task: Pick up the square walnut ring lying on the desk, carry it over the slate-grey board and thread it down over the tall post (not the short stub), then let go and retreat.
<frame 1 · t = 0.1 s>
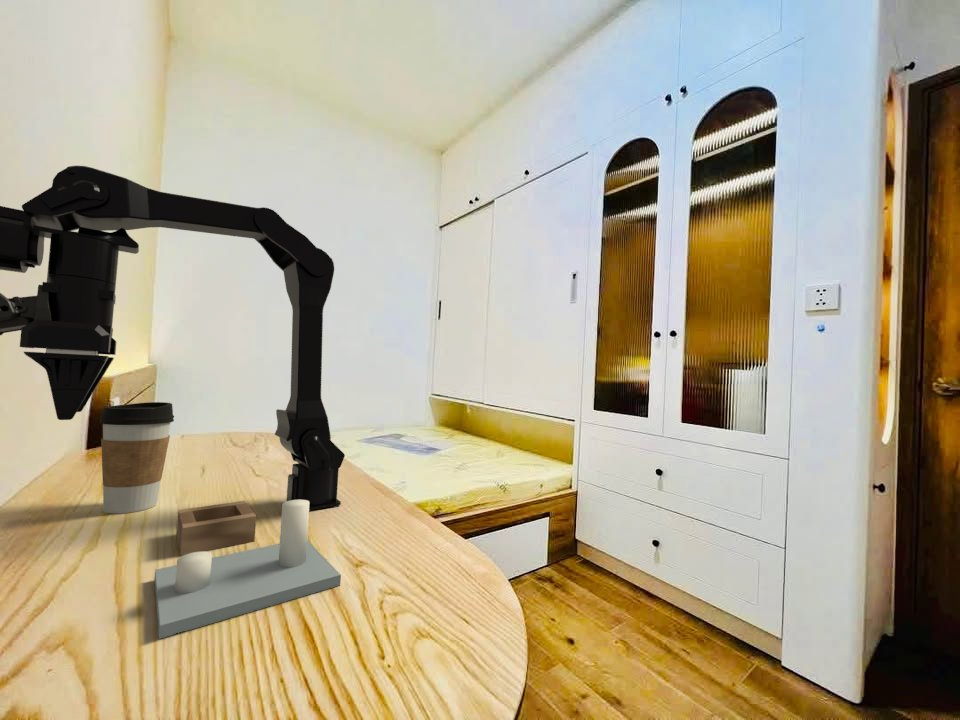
hand: (70, 415, 46), 15 cm above the table, fingers open, 9 cm apart
walnut ring: (215, 537, 49), on the table
post board: (248, 582, 39), on the table
coffee cup: (130, 508, 59), on the table
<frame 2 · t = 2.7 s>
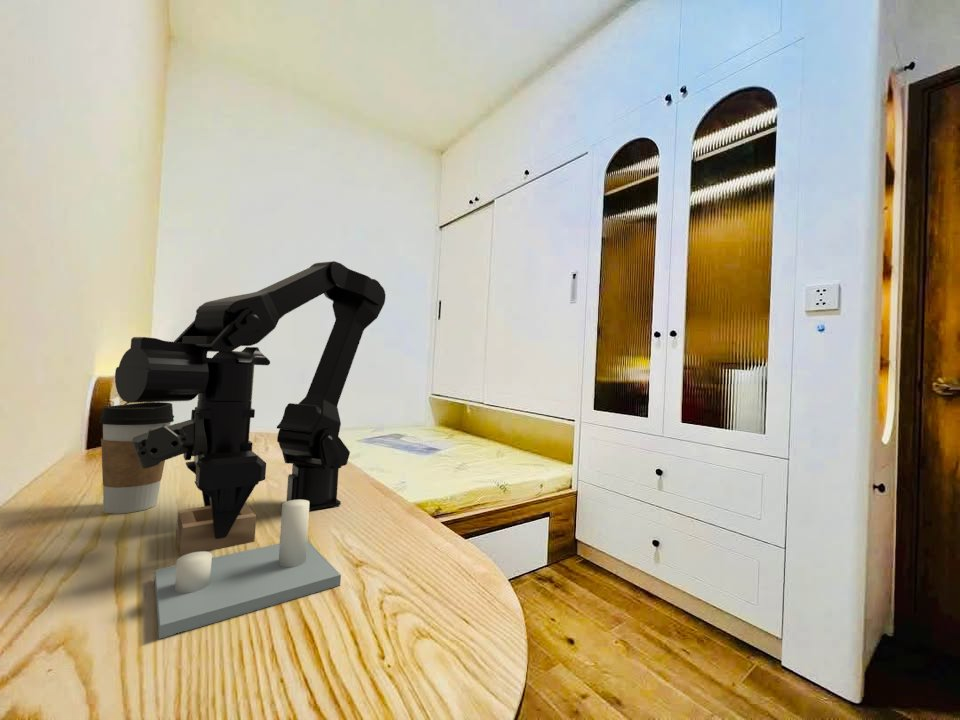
hand: (215, 527, 50), 1 cm above the table, fingers closed on walnut ring, 7 cm apart
walnut ring: (215, 537, 49), on the table, touching gripper
everything else where it was.
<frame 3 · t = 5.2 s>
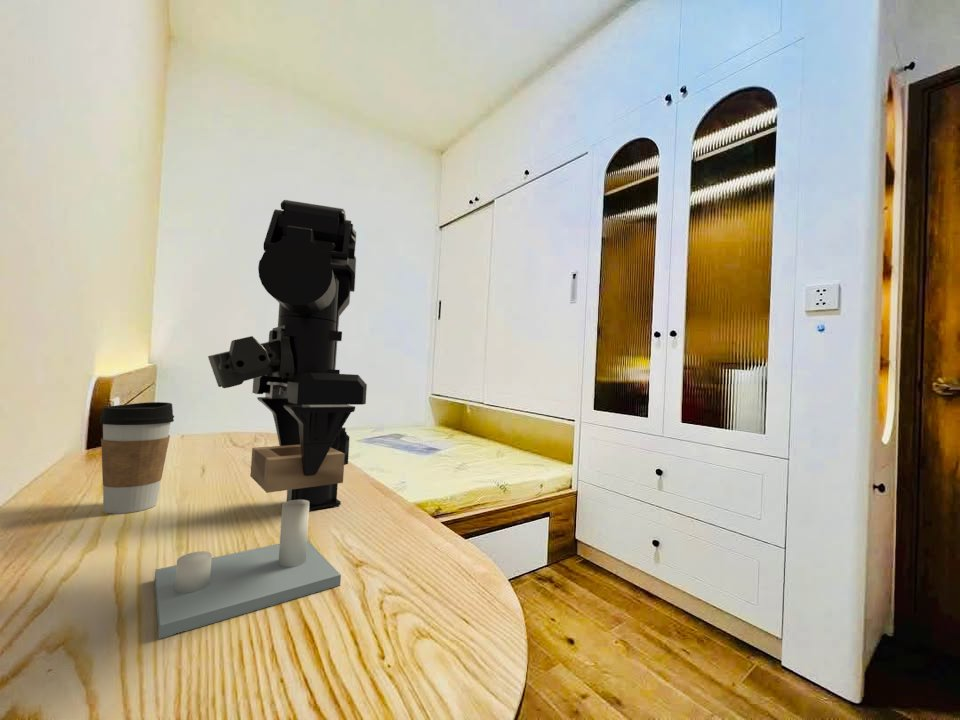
hand: (298, 467, 43), 11 cm above the table, fingers closed on walnut ring, 7 cm apart
walnut ring: (296, 479, 42), point 9 cm above the table, touching gripper
everything else where it was.
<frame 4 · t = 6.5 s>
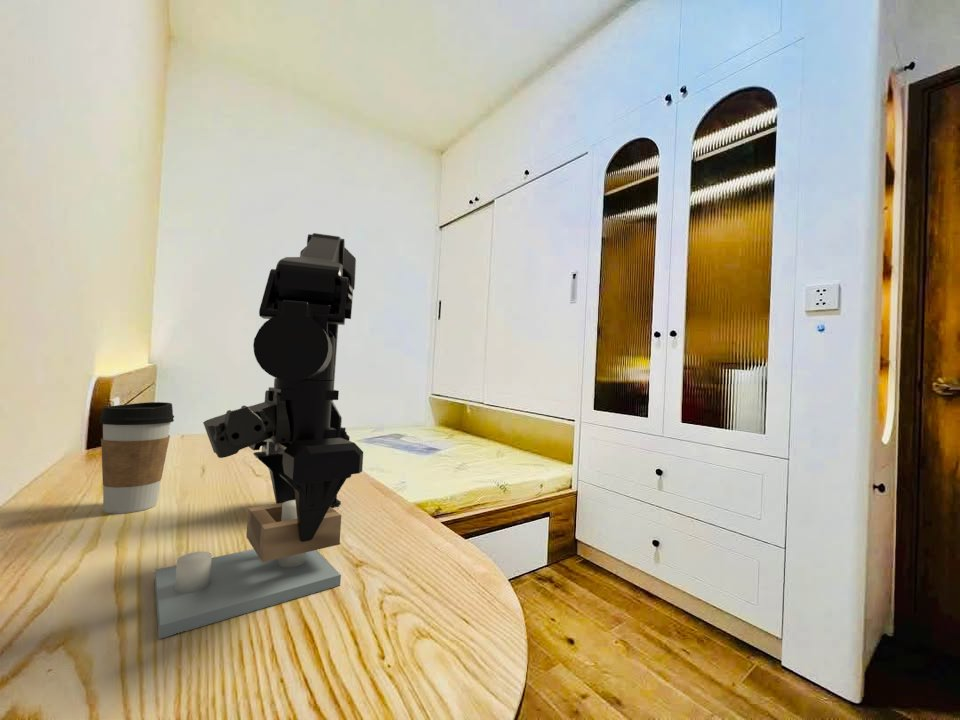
hand: (294, 528, 42), 4 cm above the table, fingers closed on walnut ring, 7 cm apart
walnut ring: (292, 540, 42), point 3 cm above the table, touching gripper
everything else where it was.
when the fingers open (4 cm above the table, at t = 7.6 s): walnut ring drops 2 cm, resting on post board.
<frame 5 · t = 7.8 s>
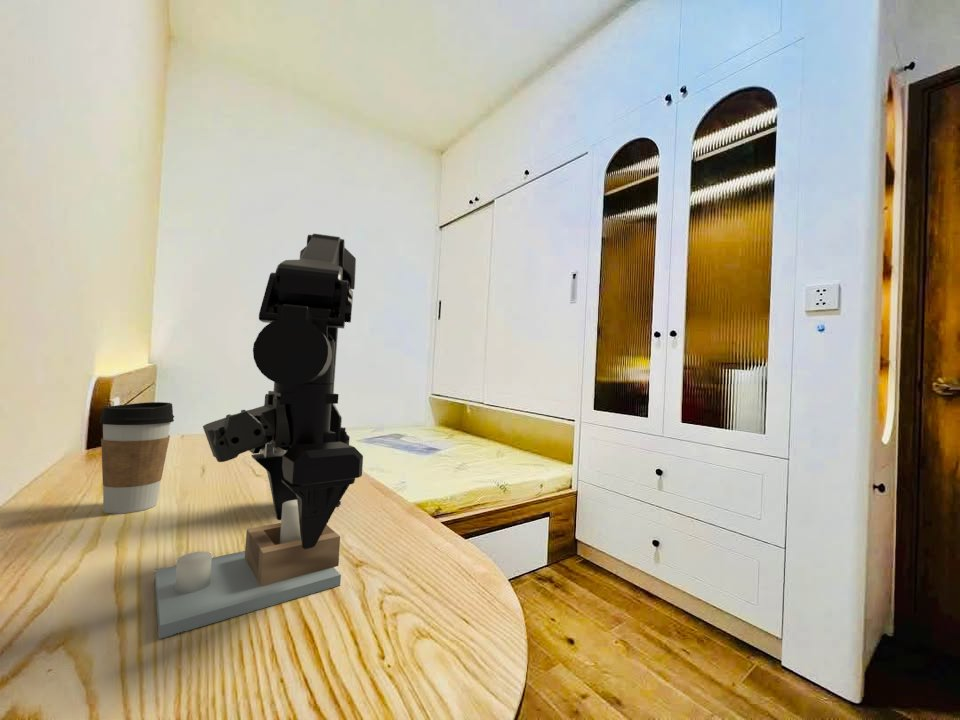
hand: (294, 532, 42), 4 cm above the table, fingers open, 9 cm apart
walnut ring: (291, 561, 42), point 1 cm above the table, touching post board
everything else where it was.
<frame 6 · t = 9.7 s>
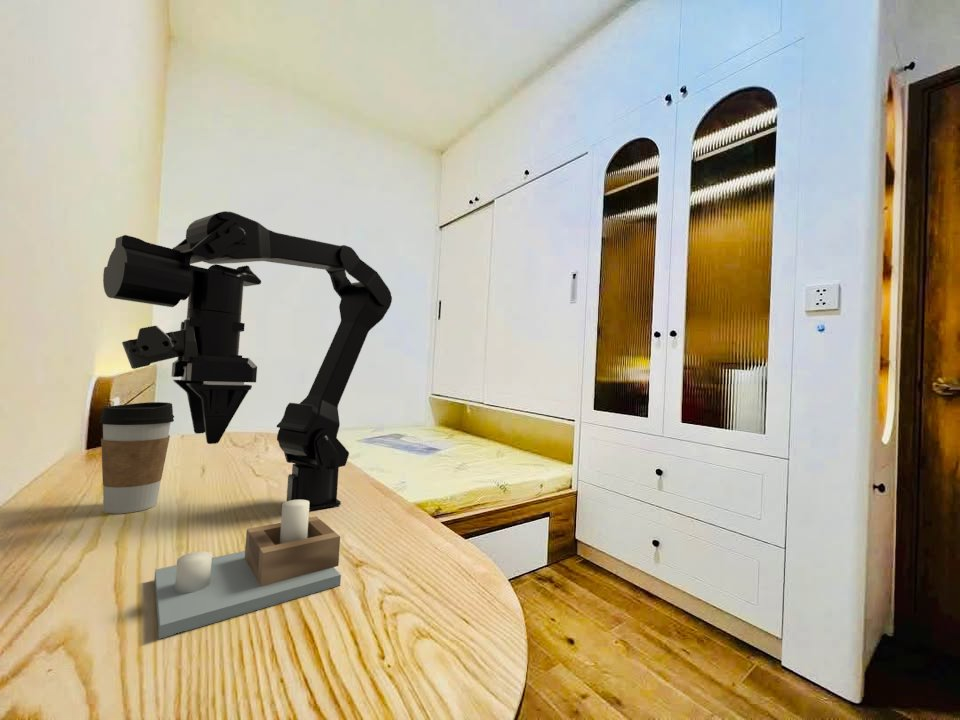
hand: (205, 438, 50), 12 cm above the table, fingers open, 9 cm apart
nothing on the table moved.
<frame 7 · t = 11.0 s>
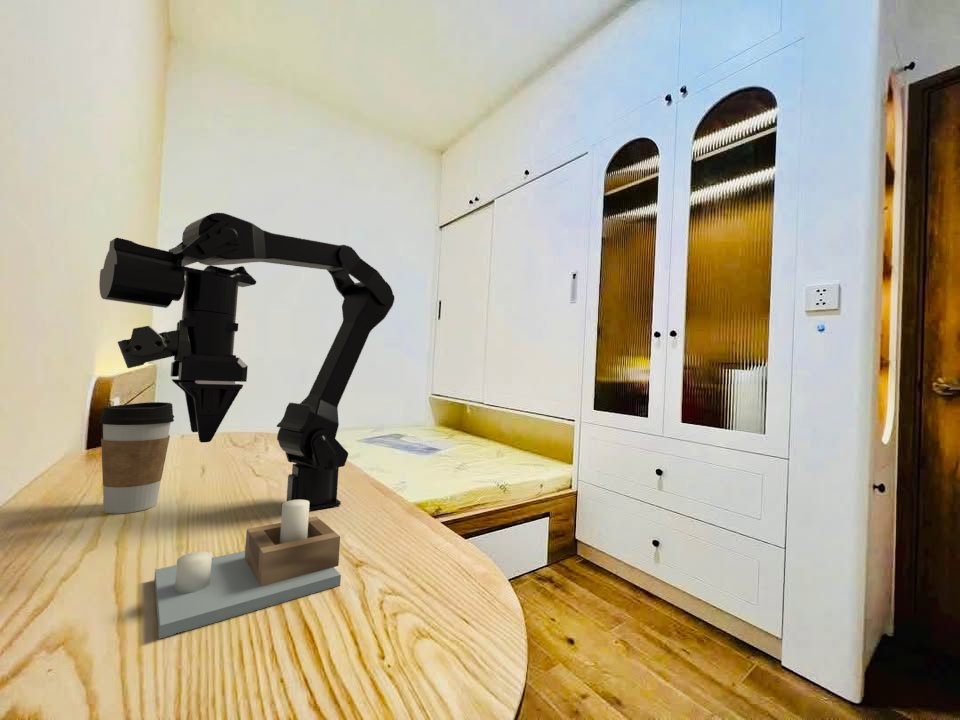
hand: (200, 436, 51), 12 cm above the table, fingers open, 9 cm apart
nothing on the table moved.
at the end: walnut ring 0.1 cm from the target spot on the post board, point 1.0 cm above the post board's base; the gripper is holding nothing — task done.
